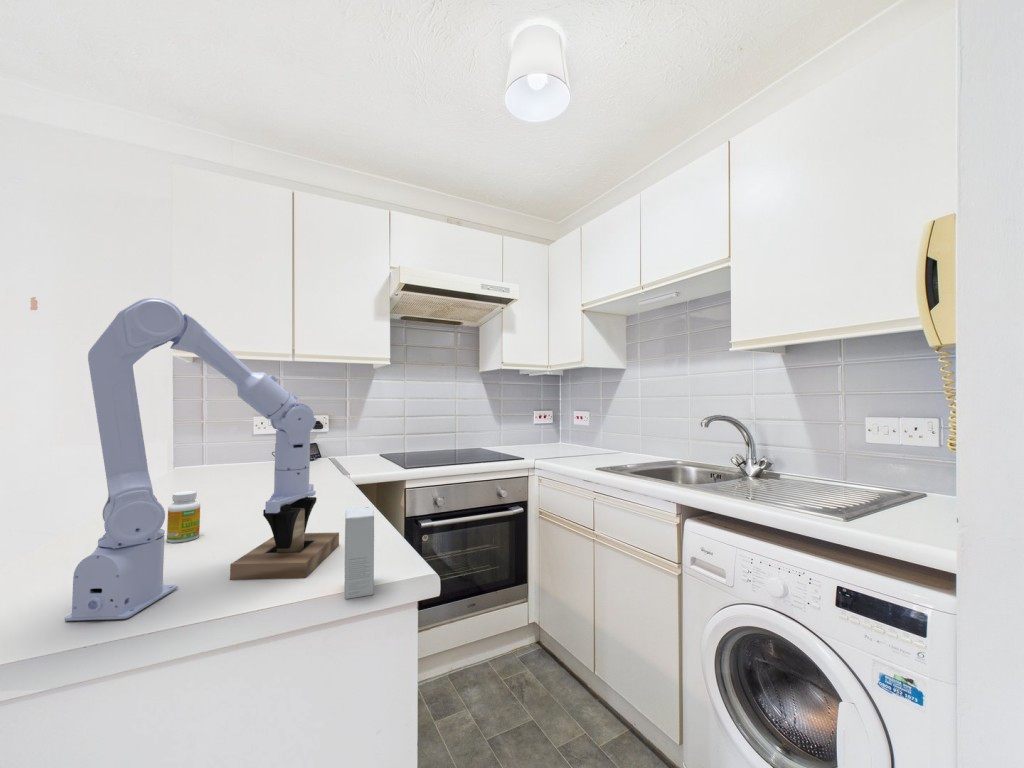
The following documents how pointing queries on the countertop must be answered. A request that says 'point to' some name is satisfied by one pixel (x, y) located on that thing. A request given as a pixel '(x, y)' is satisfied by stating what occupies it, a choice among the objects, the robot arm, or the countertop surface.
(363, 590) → the skincare box
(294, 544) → the birch peg
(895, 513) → the countertop surface
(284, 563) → the socket block
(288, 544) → the robot arm
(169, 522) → the supplement bottle
